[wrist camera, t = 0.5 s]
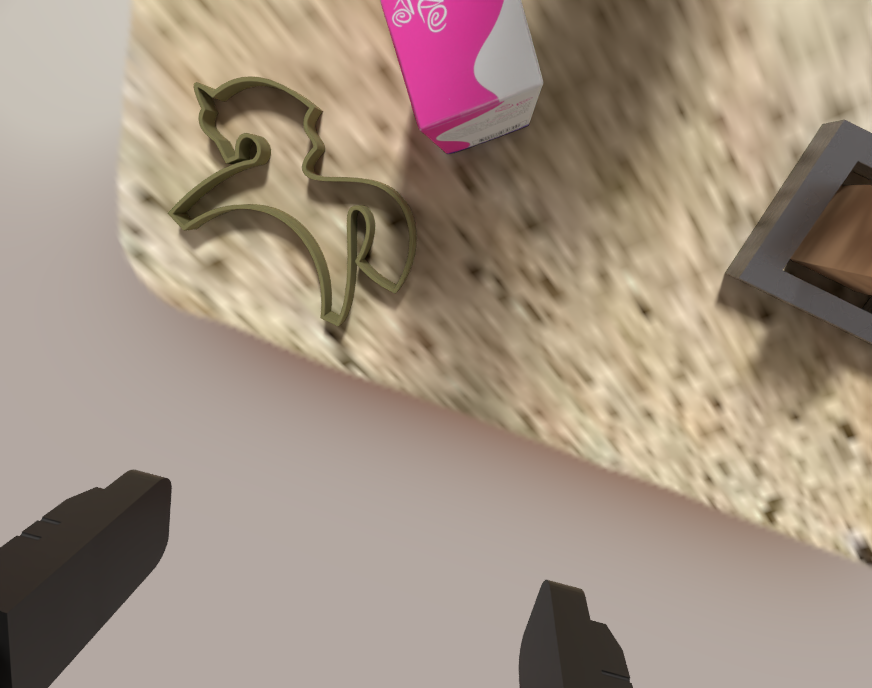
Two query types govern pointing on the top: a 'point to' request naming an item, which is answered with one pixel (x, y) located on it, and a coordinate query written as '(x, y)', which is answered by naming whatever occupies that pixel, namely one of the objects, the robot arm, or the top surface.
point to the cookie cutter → (242, 162)
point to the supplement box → (465, 67)
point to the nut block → (842, 240)
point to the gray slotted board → (807, 227)
